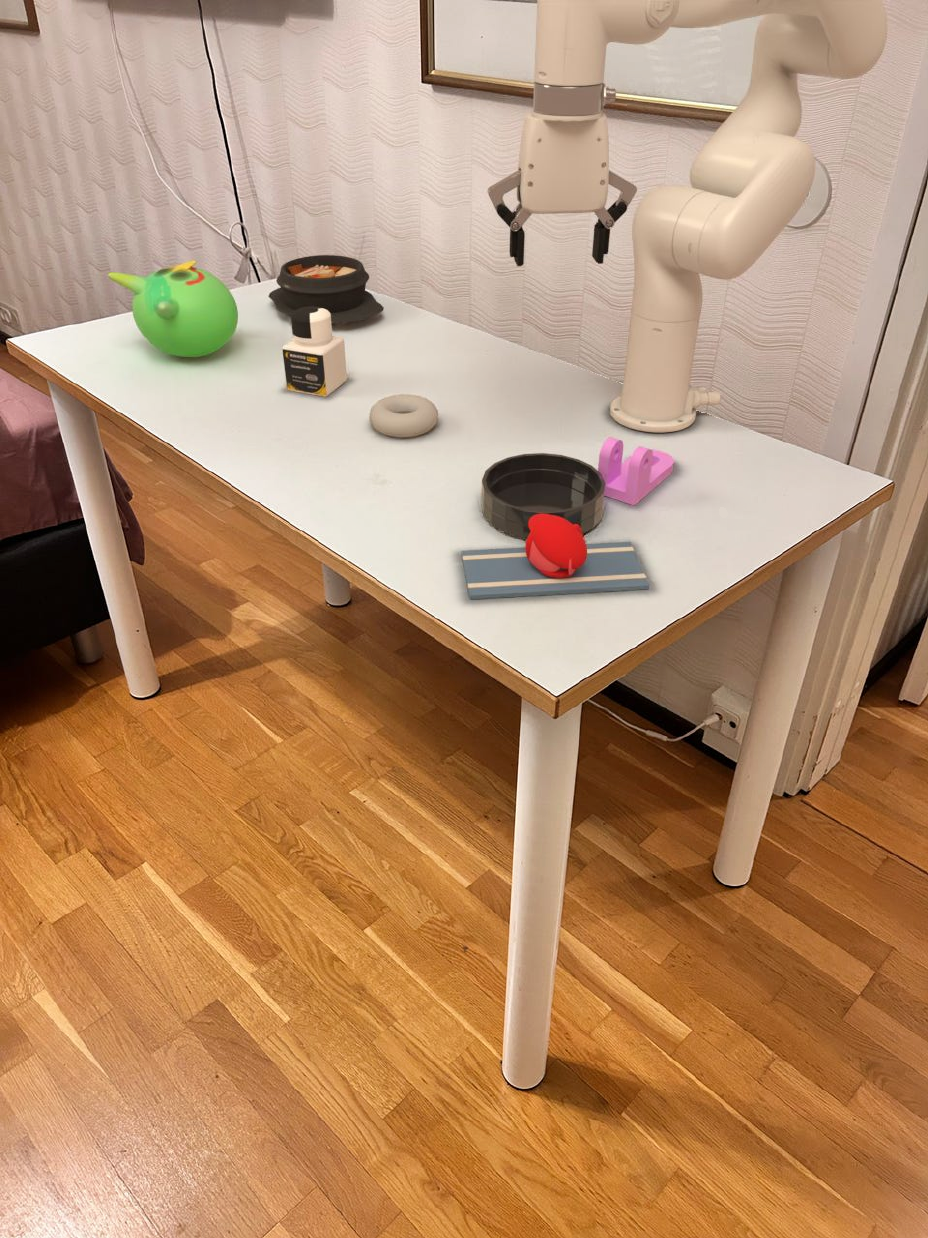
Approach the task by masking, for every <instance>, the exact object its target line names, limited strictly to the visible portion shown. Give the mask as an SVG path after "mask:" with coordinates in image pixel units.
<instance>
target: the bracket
mask: <svg viewBox="0 0 928 1238" xmlns="http://www.w3.org/2000/svg"><path fill="white" fill-rule="evenodd" d="M623 454H624V443H623V441H622V440H621V439H618V438H615V437H612V436H609V437H607V438H606V439H605V440H604V441H603V443H602V446H601V448H600V450H599V456H598V464H597V465H598V466H597V471H599V472H600V473H601V474H602V476H603V479H604V481H605V483H606V485H605V495H604V497H608V498H611V499H612V500H613V499H614V500H616V501H620V502H623V503H625V504H627V505H631V506H636V505H637V504H638V503H639V502H640V501H641V500H643V499H644V498H645V497H646V496H647V495H648V494H650V493H651V492H652V491H653V490H654V489H655V488H656V487H658V486H659V485H660V484H661V483H662V482H664V481H665V480H666V479H667V478H668V477H669V476H670V475H672V474H673V471H674V462H675V459H674V458H673V456H672V455H671V454H669V453H668V452H665V451H662V450H657V449H651V448H649V447H645V446H641V445H639V446H637V447H635V449H634V451H633V452H632V454H631V455H630V456H629V457H628V458H626V459H625V460H624V461H623Z"/></svg>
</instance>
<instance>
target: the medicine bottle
mask: <svg viewBox="0 0 928 1238" xmlns="http://www.w3.org/2000/svg"><path fill="white" fill-rule="evenodd" d="M290 323H291V324H290V325H291V334H292V340H290V341H288V343H285V344H284V345H283V346H282V348H281V350H282V357H283V366H284V367H283V368H284V373H285V381H286V382H285V383H286V389H287V391H290V392H297V393H302V394H307V395H314V396H319V397H324V398H327V397H328V396H329V395H331V394H332V393H333V392H335V391H336V389H338V388H339V387H340V386H342V385H344V384H345V383H346V382H347V381H348V374H347V360H346V348H345V347H346V346H345V338H343V337H341V336H334V335H333V327H332V323H331V314H330V312H329V311H328V310H326V309H324V308H321V307H316V306H309V307H302V308H299V309H297V310H295V311H294V312H293V313H292V314H291V316H290Z"/></svg>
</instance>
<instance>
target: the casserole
mask: <svg viewBox="0 0 928 1238" xmlns="http://www.w3.org/2000/svg"><path fill="white" fill-rule="evenodd" d="M369 280H370V275H369V273H368V272H367V271H366V269H365V267H364V264H363V262H361V261H360V260H358V259H356V258H353V257H349V256H345V255H336V254H335V255H334V254H320V255H319V254H318V255H309V256H302V257H299V258H294V259H292V260H289V261H287V262H285V263H284V264H282V265H281V266H280V271H279V275H278V276H277V277H276V284H277V285H278V286H279V287H277V288H275V289H273V290H272V291H270V293H268V298H269V299H270V300H271V301H272V302H273V304H274V306H275V309H276V310H277V311H278V312H280V313H282V314H284V315H286V316H289V317H291V314H292V313H293V312H294V311H295V310H297V309H299V308H302V307H309V306H316V307H321V308H324V309H326V310H328V311H329V312H330V314H331V324H339V325H340V324H350V323H351V324H352V323H356V322H360V321H365V320H368V319H371V318H374V317H375V316H377V315H379V314H381V313H382V312H383V311H384V309H385V308H384V307H385V306H383V305H382V304H381V303H380V302H379V301H377V300H376V298H375V297H374V295H373V294H372V293H371V292H369V291H368V290H366V286H367V283H368V282H369Z"/></svg>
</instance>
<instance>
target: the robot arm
mask: <svg viewBox="0 0 928 1238" xmlns="http://www.w3.org/2000/svg"><path fill="white" fill-rule="evenodd" d="M536 2H537V3H536V25H535V27H536V28H535V49H534V50H535V51H534V72H533V73H534V75H533V76H534V77H533V81H534V82H533V101H532V103H533V104H532V112H527V113H525V116H524V120H523V125H522V131H521V136H520V144H519V151H518V152H519V154H518V164H517V170H516V171H515V172H513V173H511V174H509V175H508V176H506V177H504V178H503V179H501V180H499V181H498V182H496V183H493V184H492V185H491V186H489V187H488V188H487V194H488V197H489V199H490V201H491V203H492V205H493V208H494V210H495V212H496V214H497V215H498V216H499V218H500V219H501V220H502V221H503V222H504V223H505V224H506V225H507V226H508V227H509V257H510V258H513V260H514V262H515V264H516V267H522V266H524V264H525V241H526V240H525V239H526V237H525V235H526V233H525V231H524V227H523V226H524V225H525V223H526V222H527V221H528V219H530V217H531V216H532V215H533V214H534V215H535V214H537V215H549V214H550V215H551V214H552V215H554V214H555V215H556V214H583V213H594V214H595V216H596V217H597V218H598V219H597V222H595V224H594V226H593V239H592V252H591V255H592V256H591V257H592V258H593V260H594V261H595V263H597V264H598V265H603V264H604V257H605V255H608V254H609V248H610V247H609V246H610V239H611V237H610V235H611V229H612V228H613V227H614V226H615V223H616V222H618V220H619V219H620V218H622V216H623V215H624V214H625V213H626V212H627V211H628V207H629V205H630V204H631V202H632V200H634V197H635V196H636V193H637V192H638V187H637V186H636V185H635V184H634V183H632V182H631V181H629V180H628V179H626V178H624V177H622V176H620V175H619V174H617V173H616V172H614V171H612V170H610V153H609V152H610V148H609V147H610V146H609V145H610V142H609V127H608V118H607V115H606V113H604V112H603V111H604V107H605V105H608V104H609V103H615V102H616V97H617V96H616V95H617V91H616V88H609V87H608V86H606V84H605V82H604V81H605V71H606V70H605V68H606V56H607V45H608V44H609V43H618V44H625V45H626V44H627V45H634V46H635V45H646V44H650V43H652V42H654V41H657V40H658V39H659V38H661V37H662V36H664V34H666V33H667V32H668V31H669V29H670V28H674V29H675V28H676V29H701V28H702V29H703V28H713V27H718V26H723V25H726V24H730V23H734V22H737V21H738V22H739V21H742V20H746V19H752V18H756V17H760V16H762V17H761V19H760V20H759V23H758V25H757V28H756V31H755V36H754V41H753V51H752V53H753V54H752V63H751V74H750V79H749V86H748V88H747V91H746V93H745V95H744V97H743V98H742V100H741V101H740V103H739V104H738V105H737V106H736V108H735V109H734V110H733V111H732V112H731V114H729V116H728V117H727V118H726V119H725V120H724V121H723V123H722V124H721V125H720V126H719V127H718V128H717V129H716V131H715V132H714V133H713V134H712V135H711V137H709V138H708V140H707V141H706V142H705V143H704V145H703V146H702V147H701V149H700V150H699V152H698V153H697V154H696V155H695V158H694V160H693V161H692V164H691V165H690V169H689V181H690V187H689V186H686V185H681V184H663V185H659V186H657V187H655V188H653V189H651V190H650V191H648V192H647V193H646V194H645V195H644V196H642V198H641V199H640V201H639V203H638V204H637V206H636V209H635V211H634V214H633V219H632V224H631V225H632V226H631V234H632V235H631V238H632V249H633V261H634V264H633V265H634V266H633V267H634V269H633V270H634V272H633V273H634V276H633V290H632V298H631V299H632V301H631V310H630V316H629V317H630V318H629V327H628V336H627V344H626V345H627V347H626V356H625V365H624V374H623V382H622V392H621V395H618V396H617V397H615V398H614V399H613V400H612V401H611V402H610V406H609V414H610V416H611V417H612V419H613V420H614V421H615V422H617V423H618V424H620V425H621V426H624V427H625V428H628V429H631V430H634V431H635V430H636V431H639V432H646V433H654V434H655V433H662V434H663V433H664V434H665V433H673V432H677V431H678V432H679V431H681V430H685V429H686V428H688V427H690V426H691V425H692V424H693V423H694V422H695V421H696V416H697V408H699V407H700V406H703V405H705V406H718V405H720V403H721V393H720V391H718V390H717V391H716V390H715V391H708V390H707V387H706V386H696V387H692V385H691V377H692V372H693V365H694V357H695V351H696V345H697V338H698V332H699V326H700V319H701V314H702V308H703V307H702V306H703V286H702V281H701V276H700V275H702V276H706V277H709V278H713V279H717V280H724V281H725V280H726V281H727V280H728V281H729V280H733V279H736V278H738V277H740V276H742V275H743V274H744V273H746V272H747V271H748V270H749V269H750V268H751V267H752V266H753V265H754V264H755V263H756V262H757V261H758V260H759V259H760V257H761V256H762V255H763V254H764V252H765V251H767V250H768V248H769V247H770V246H771V244H772V243H773V242H774V241H775V239H777V237H778V236H779V235H780V234H781V233H782V231H783V230H784V229H785V228H786V227H787V226H788V225H789V224H790V222H791V221H792V220H793V219H794V217H795V216H796V215H797V214H798V212H799V211H800V209H801V208H802V207H803V205H804V203H805V202H806V200H807V197H808V195H809V194H810V192H811V188H812V185H813V183H814V178H815V175H816V159H815V154H814V152H813V150H812V148H811V147H810V146H809V145H808V144H807V143H806V142H805V141H803V140H802V139H800V138H798V137H795V136H796V135H797V134H798V132H799V129H800V127H801V123H802V118H803V117H802V115H803V114H802V113H803V109H802V102H801V97H800V94H799V89H798V75H806V76H807V75H808V76H813V77H815V76H816V77H821V78H822V77H823V78H830V79H838V80H854V79H857V78H861V77H862V76H864V75H866V74H867V73H869V72H870V71H871V70H872V69H873V68H874V67H875V66H876V65H877V63H878V61H879V60H880V59H881V56H882V54H883V52H884V50H885V46H886V42H887V39H888V38H887V37H888V16H887V11H886V8H885V5H884V2H883V0H537V1H536ZM609 185H610V186H611V187H613V188H615V189H617V190H618V191H619V192H620V193H619V196H618V198H617V200H616V201H615V202H614V203H612V205H610V206H609V207H608V208H606V207H605V206H606V205H607V202H608V201H607V200H608V195H609ZM514 189H516V199H517V201H518V202H519V203H518V204H517V205H516V207H515V208H514V209H513V210H510V208H509V207H508V206H507V205H506V203H505V202H504V198H503V197H504V195H505V194H508V193H509V192H511V191H512V190H514Z"/></svg>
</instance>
